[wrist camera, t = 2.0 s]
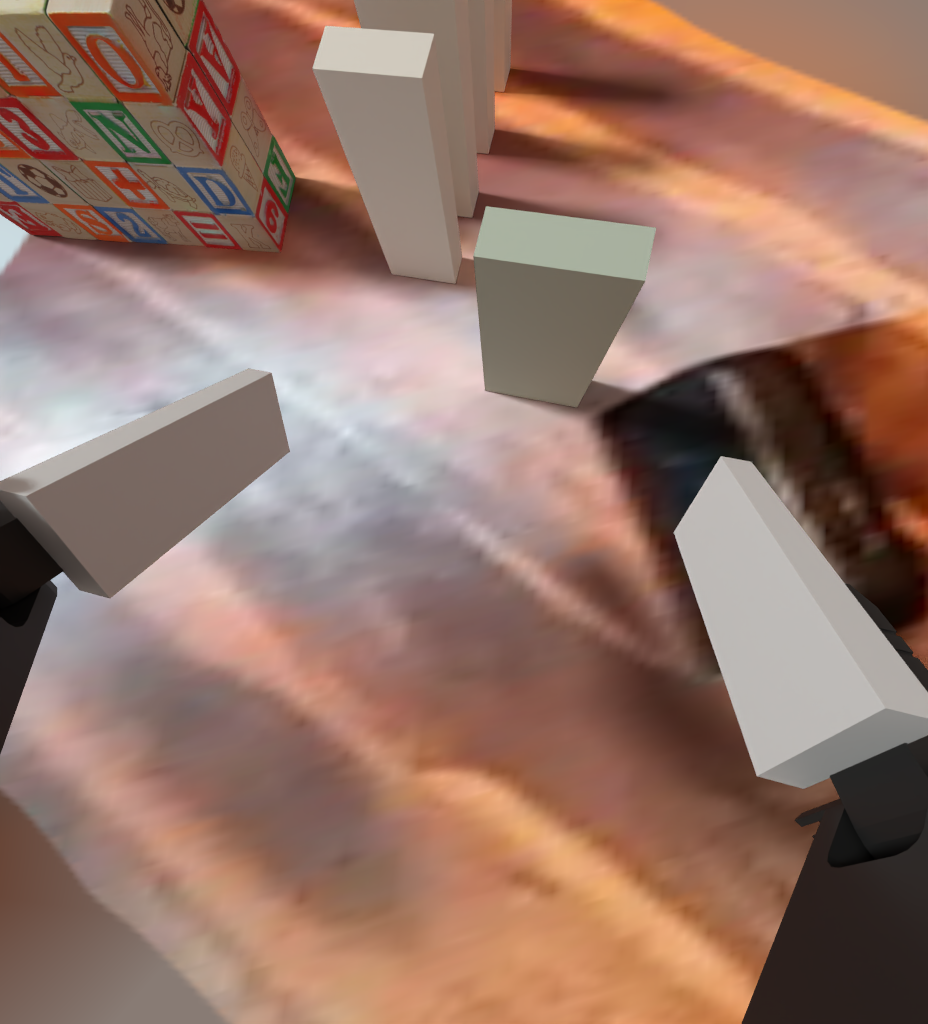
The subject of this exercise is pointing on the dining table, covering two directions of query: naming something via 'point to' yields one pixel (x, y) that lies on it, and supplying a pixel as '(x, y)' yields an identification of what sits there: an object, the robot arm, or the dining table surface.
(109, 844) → the dining table surface
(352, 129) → the domino
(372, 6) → the domino
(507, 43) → the domino
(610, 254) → the sage domino
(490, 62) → the domino
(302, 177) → the dining table surface
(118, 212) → the stack of blocks
